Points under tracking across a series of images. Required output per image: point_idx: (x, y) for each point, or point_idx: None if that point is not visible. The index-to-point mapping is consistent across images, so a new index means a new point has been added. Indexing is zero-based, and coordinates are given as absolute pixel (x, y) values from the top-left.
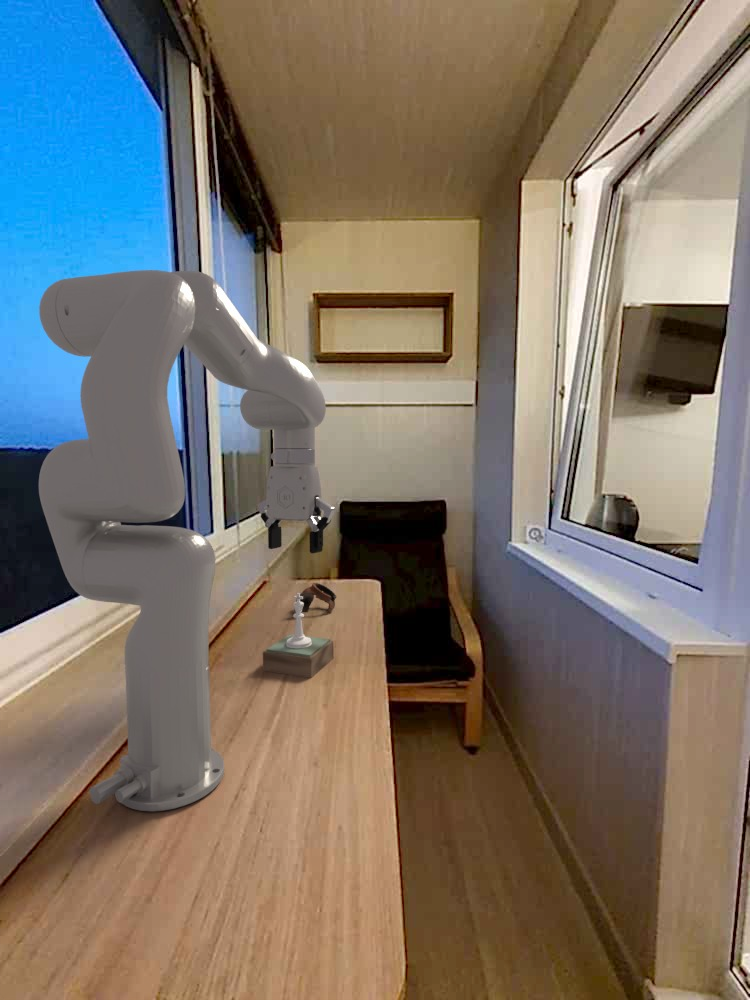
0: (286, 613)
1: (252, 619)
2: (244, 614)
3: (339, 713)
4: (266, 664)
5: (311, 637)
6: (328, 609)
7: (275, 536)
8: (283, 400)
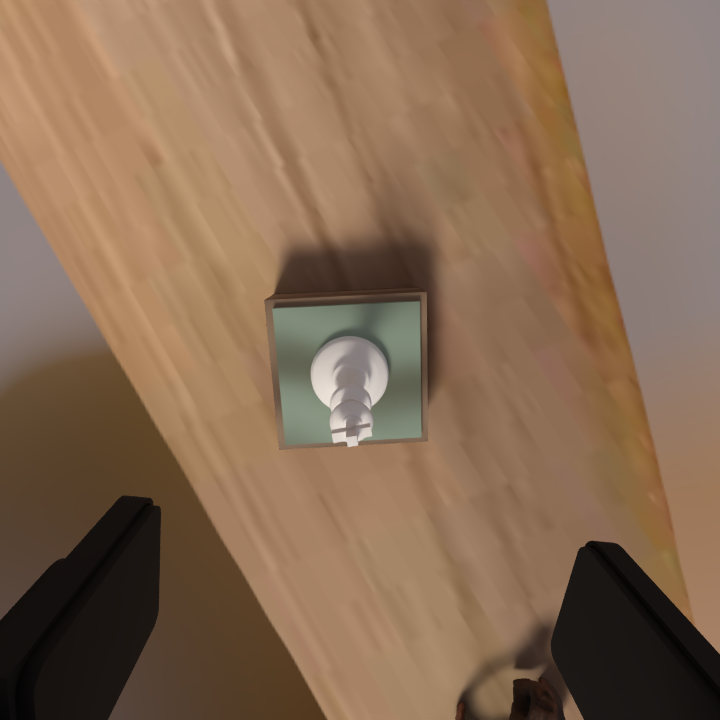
0: None
1: None
2: None
3: (96, 127)
4: (409, 289)
5: None
6: (461, 712)
7: (629, 678)
8: None
